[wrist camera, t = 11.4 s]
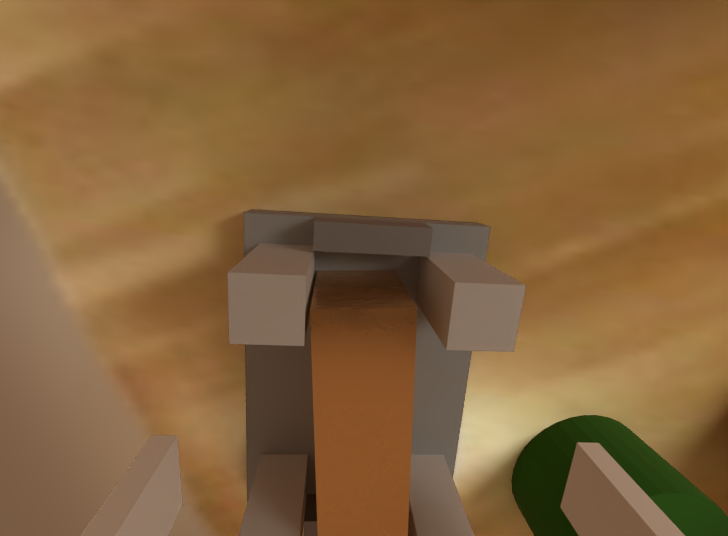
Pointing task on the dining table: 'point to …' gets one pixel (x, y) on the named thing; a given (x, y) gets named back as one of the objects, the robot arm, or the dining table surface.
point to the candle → (648, 469)
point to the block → (362, 401)
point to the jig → (294, 360)
